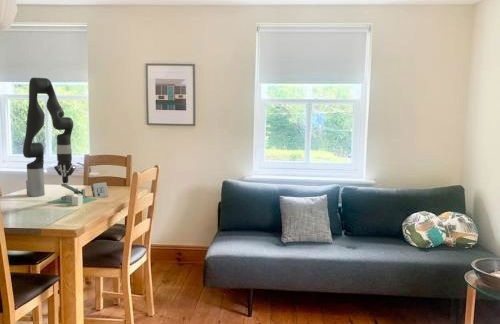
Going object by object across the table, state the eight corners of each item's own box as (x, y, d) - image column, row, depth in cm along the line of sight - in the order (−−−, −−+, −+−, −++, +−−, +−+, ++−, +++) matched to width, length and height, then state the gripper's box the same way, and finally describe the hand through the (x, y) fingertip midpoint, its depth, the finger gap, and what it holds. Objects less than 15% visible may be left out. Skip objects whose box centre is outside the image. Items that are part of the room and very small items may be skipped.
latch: (65, 204, 225) (65, 194, 224) (70, 203, 229) (70, 193, 228) (78, 205, 223) (77, 195, 222) (82, 204, 227) (82, 194, 226)
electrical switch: (95, 199, 247) (94, 184, 246) (90, 198, 250) (89, 183, 249) (108, 196, 254) (107, 182, 253) (104, 196, 257) (103, 182, 257)
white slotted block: (60, 201, 231) (59, 196, 231) (70, 198, 240) (70, 193, 240) (73, 203, 229) (73, 197, 229) (83, 199, 238) (83, 194, 237)
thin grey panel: (77, 193, 242) (78, 192, 242) (82, 194, 241) (82, 192, 241) (60, 185, 227) (61, 183, 227) (65, 185, 226) (66, 183, 227)
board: (44, 204, 229) (44, 192, 228) (67, 198, 247) (67, 187, 246) (78, 207, 223) (77, 195, 222) (99, 200, 242) (98, 189, 241)
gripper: (49, 152, 224) (50, 183, 226) (69, 153, 221) (70, 184, 223) (59, 151, 231) (60, 181, 234) (78, 152, 228) (79, 182, 230)
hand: (65, 182), depth 228 cm, fingers closed
